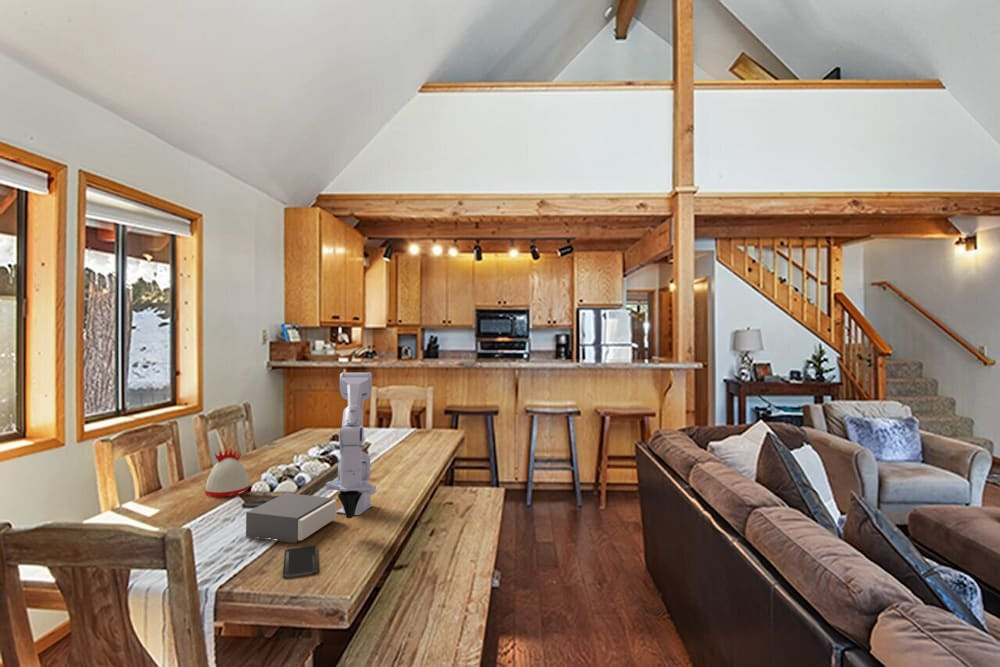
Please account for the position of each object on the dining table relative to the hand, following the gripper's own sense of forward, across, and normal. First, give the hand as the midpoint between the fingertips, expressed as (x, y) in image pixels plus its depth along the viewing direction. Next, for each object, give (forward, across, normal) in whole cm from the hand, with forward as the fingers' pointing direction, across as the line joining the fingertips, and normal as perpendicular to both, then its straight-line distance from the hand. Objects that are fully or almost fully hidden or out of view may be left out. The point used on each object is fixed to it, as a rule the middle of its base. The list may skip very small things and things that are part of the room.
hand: (350, 517), depth 142 cm
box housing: (+5, -19, 0) cm, 20 cm away
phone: (+6, -3, -18) cm, 19 cm away
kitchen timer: (+6, -61, +23) cm, 65 cm away
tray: (+4, -17, 0) cm, 18 cm away
